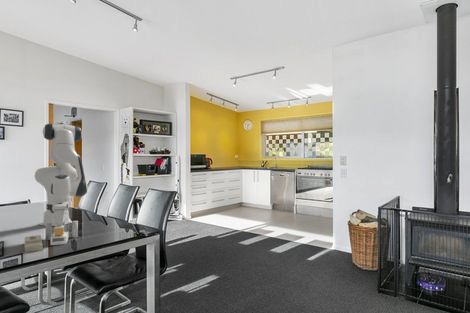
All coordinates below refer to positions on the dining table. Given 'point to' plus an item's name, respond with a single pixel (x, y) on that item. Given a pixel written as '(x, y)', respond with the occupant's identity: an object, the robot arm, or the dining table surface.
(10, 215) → the dining table surface
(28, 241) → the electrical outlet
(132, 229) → the dining table surface
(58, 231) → the breaker toggle
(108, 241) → the dining table surface
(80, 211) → the dining table surface
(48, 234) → the post
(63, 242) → the breaker block
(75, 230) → the post
